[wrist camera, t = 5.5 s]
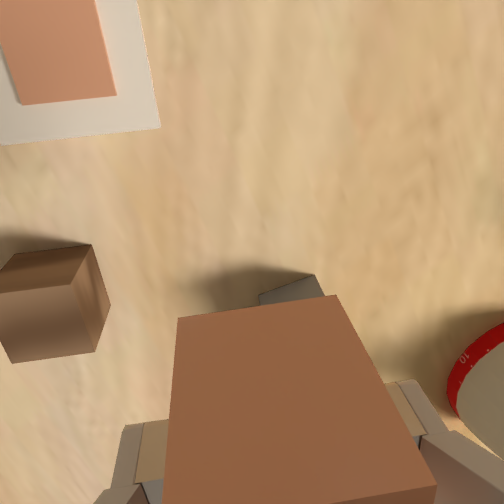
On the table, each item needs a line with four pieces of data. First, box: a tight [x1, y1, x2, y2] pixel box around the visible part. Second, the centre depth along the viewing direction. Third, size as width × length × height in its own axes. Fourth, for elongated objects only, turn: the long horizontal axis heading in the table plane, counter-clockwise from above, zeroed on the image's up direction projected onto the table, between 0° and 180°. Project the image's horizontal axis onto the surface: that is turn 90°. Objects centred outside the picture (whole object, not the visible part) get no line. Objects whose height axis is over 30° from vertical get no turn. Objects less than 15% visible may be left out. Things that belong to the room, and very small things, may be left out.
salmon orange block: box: [162, 295, 438, 504], centre depth 10 cm, size 4×4×6 cm
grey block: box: [258, 275, 325, 306], centre depth 28 cm, size 4×4×6 cm
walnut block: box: [0, 245, 111, 364], centre depth 25 cm, size 5×5×5 cm
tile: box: [0, 0, 161, 146], centre depth 20 cm, size 9×9×1 cm
